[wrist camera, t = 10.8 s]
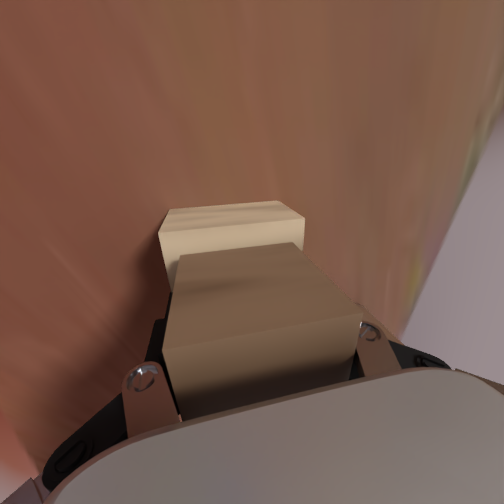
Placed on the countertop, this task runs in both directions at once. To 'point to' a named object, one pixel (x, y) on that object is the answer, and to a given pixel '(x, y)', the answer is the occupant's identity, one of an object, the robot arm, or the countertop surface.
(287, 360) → the walnut cube
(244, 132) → the countertop surface
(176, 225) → the oak block
